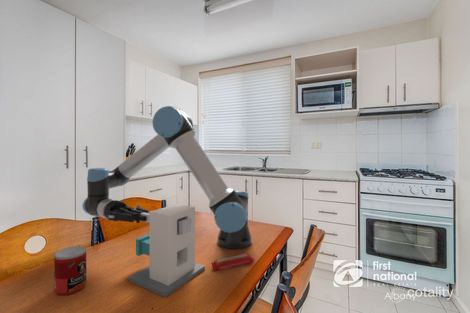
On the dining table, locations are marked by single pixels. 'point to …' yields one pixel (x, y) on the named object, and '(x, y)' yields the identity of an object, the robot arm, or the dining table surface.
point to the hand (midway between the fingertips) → (155, 219)
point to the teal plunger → (143, 245)
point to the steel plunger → (183, 225)
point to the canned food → (70, 270)
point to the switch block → (169, 252)
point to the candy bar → (232, 261)
